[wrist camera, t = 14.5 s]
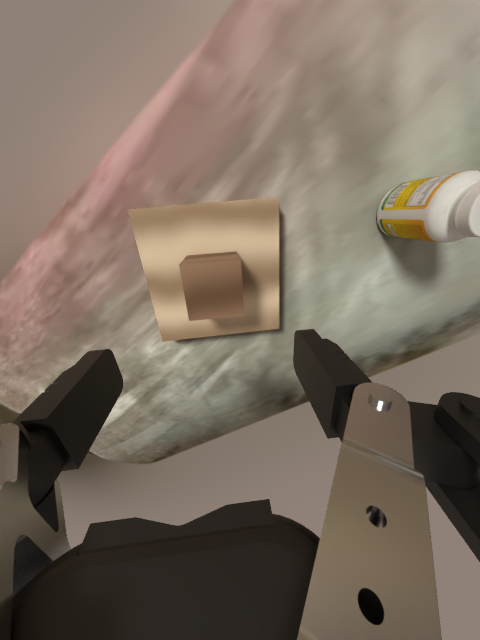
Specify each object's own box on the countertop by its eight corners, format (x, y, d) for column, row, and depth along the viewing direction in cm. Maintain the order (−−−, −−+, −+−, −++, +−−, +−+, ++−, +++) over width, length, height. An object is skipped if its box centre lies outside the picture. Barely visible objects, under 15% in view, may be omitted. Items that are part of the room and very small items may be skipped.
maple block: (138, 210, 23) (127, 209, 20) (272, 199, 23) (279, 196, 21) (168, 329, 29) (162, 341, 26) (273, 318, 29) (279, 328, 26)
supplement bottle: (378, 186, 23) (474, 167, 14) (427, 178, 23) (552, 155, 14) (372, 240, 25) (451, 251, 17) (416, 232, 25) (519, 240, 17)
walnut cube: (186, 255, 22) (178, 264, 17) (236, 251, 22) (240, 259, 18) (194, 301, 24) (189, 321, 20) (239, 297, 24) (244, 315, 20)
